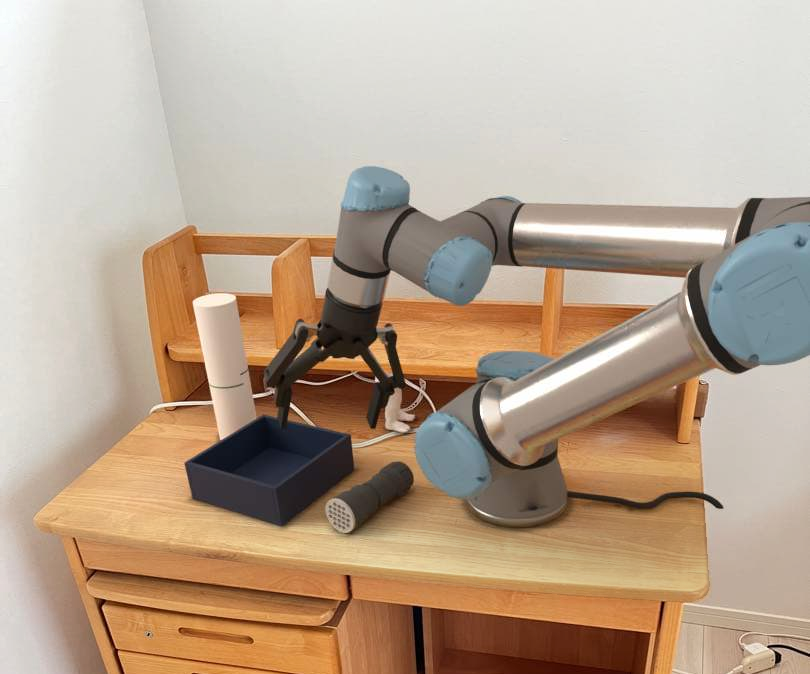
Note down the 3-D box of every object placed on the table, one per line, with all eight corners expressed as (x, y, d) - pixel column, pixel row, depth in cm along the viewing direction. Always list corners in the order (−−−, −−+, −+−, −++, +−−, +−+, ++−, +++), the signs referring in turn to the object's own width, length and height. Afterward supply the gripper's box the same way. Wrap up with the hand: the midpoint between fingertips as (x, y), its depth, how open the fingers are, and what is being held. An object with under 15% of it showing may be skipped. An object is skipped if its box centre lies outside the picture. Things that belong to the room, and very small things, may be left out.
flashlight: (391, 483, 132) (388, 453, 129) (417, 492, 129) (416, 462, 126) (327, 526, 122) (323, 495, 120) (354, 537, 120) (351, 505, 117)
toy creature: (406, 440, 145) (402, 376, 138) (372, 438, 146) (367, 375, 139) (419, 411, 154) (415, 350, 148) (387, 410, 156) (383, 349, 149)
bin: (354, 470, 137) (351, 434, 133) (281, 526, 123) (275, 488, 120) (269, 448, 145) (263, 414, 142) (192, 498, 132) (183, 462, 128)
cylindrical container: (266, 430, 151) (244, 295, 137) (243, 447, 146) (217, 308, 132) (235, 424, 154) (210, 291, 140) (211, 440, 149) (183, 304, 135)
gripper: (434, 284, 113) (398, 407, 128) (254, 271, 104) (237, 406, 118) (452, 314, 108) (413, 439, 123) (264, 304, 99) (246, 439, 114)
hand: (327, 423), depth 121 cm, fingers open, 13 cm apart
